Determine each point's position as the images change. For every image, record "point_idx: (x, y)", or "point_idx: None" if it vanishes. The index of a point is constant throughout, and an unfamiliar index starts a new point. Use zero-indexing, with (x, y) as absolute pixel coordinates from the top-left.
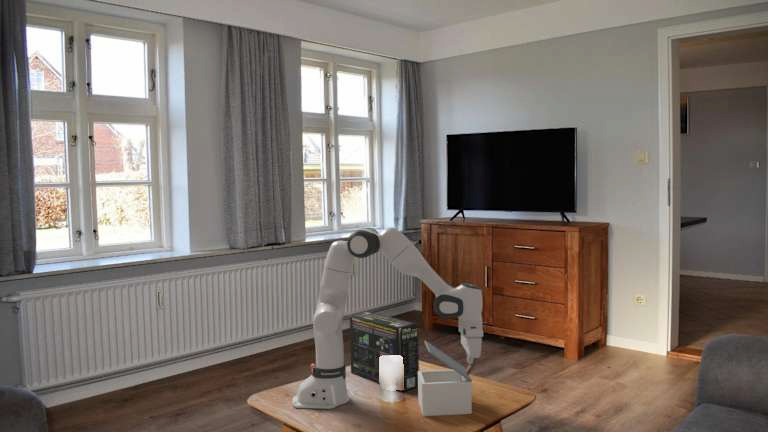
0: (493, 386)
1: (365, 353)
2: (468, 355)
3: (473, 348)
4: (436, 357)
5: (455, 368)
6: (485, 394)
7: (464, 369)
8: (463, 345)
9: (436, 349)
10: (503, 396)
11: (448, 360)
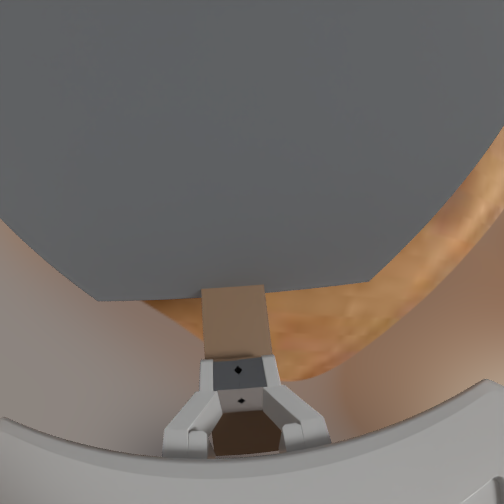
0: (382, 312)
1: None
2: (171, 430)
3: None
4: None
5: (35, 231)
6: (331, 287)
7: (301, 283)
8: (384, 453)
9: (479, 22)
10: (301, 332)
11: (197, 159)
